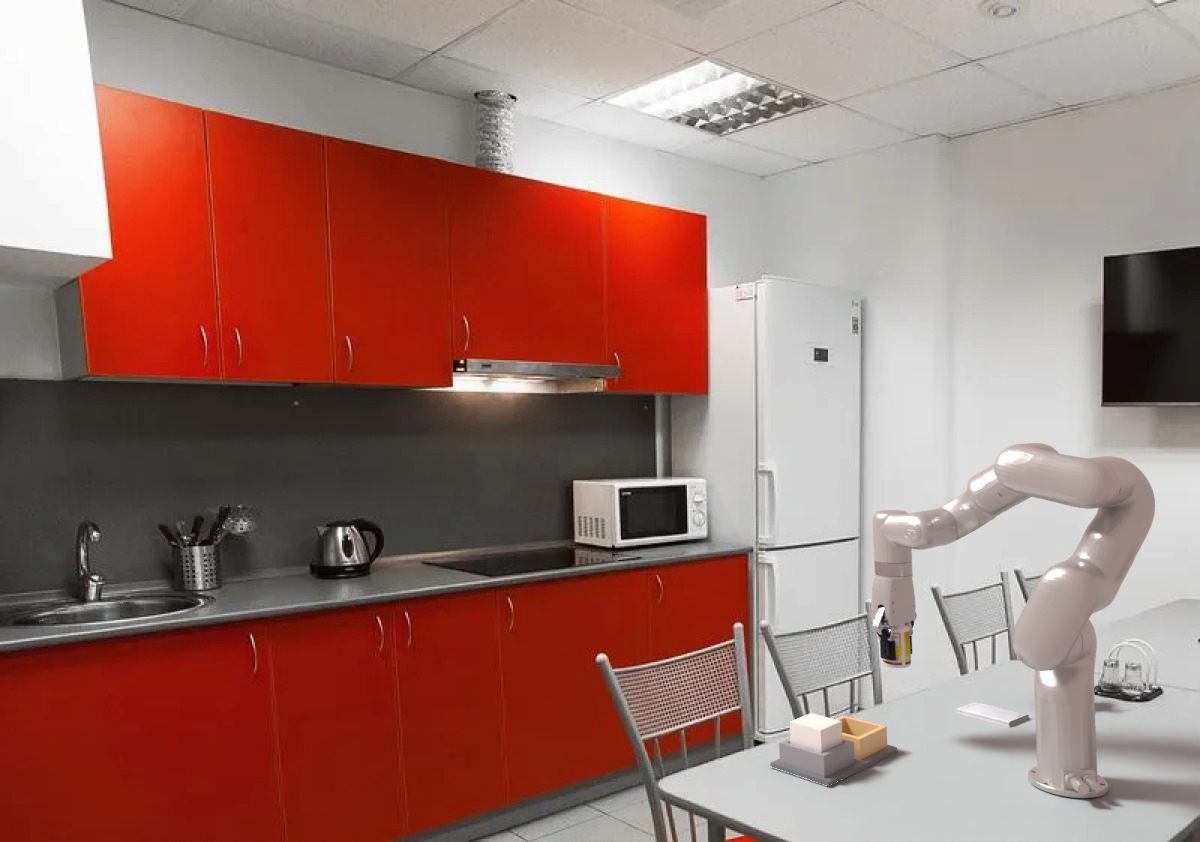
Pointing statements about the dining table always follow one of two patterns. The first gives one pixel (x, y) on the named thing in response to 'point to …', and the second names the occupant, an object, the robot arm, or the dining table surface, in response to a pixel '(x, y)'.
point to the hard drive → (992, 714)
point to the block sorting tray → (832, 747)
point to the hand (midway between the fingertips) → (896, 655)
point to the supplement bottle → (900, 647)
